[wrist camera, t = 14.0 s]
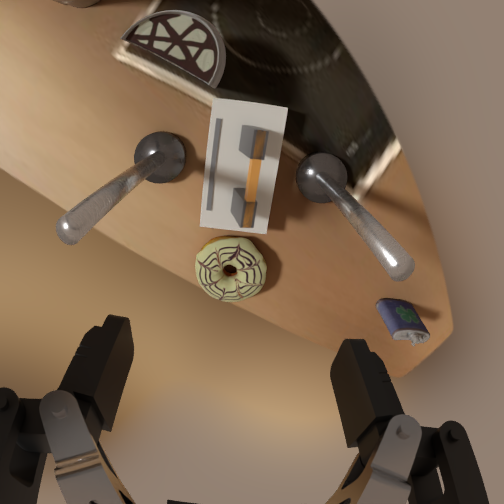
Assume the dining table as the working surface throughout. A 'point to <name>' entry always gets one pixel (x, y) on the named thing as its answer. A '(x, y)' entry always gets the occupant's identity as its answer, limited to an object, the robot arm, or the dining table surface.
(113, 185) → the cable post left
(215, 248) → the decorated donut
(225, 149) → the switch panel
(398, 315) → the flask
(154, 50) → the food container
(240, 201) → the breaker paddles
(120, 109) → the dining table surface
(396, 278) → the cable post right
